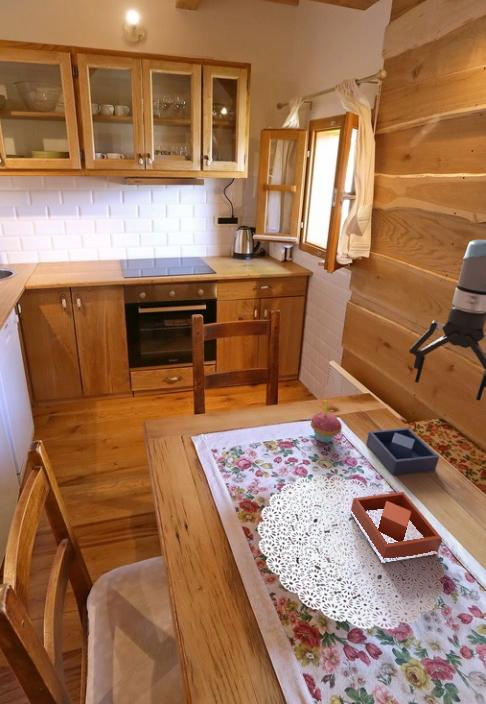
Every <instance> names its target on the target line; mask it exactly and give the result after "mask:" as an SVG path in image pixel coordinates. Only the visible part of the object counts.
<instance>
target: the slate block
mask: <svg viewBox="0 0 486 704" xmlns="http://www.w3.org/2000/svg"><path fill="white" fill-rule="evenodd" d="M414 441H415V439H412V438H409V437H406V436H403V435H401V434H398V433H395V435H394V437H393V440H392V442H391V446H390V450H389V451H390V453H391V454H392V455H393V456H394V457H395V458H396V459H406V458H410V456H411V452H412V448H413V445H414Z"/></svg>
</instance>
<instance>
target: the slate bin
mask: <svg viewBox="0 0 486 704" xmlns="http://www.w3.org/2000/svg"><path fill="white" fill-rule="evenodd" d="M395 433H398V434H401V435H403V436H406V437H409V438H412V439H415V441H414V445H413V448H412V452H411V456H410V458H406V459H396V458H395V457H394V456H393V455H392V454H391V453H390V451H389V450H390V446H391V442H392V440H393V437H394V435H395ZM365 445H366V446H367V448H368V449H369V450H370V452H372V454H373V455H374V456H375V457H376V458H377V460H378V461H379V462H380V463H381V464H382V466H383V467H384V468H385V470H387V472H388V473H389V474H390V475H391V476H392V477H395V476H403V475H404V476H405V475H412V474H413V475H414V474H420V473H430V472H435V471H436V469H437V467H438V462H439V460H440V456H439V455H438V454H437V453H435V452H434V451H433V450H432V448H430V447H429V446H428V445H427V444H426V443H425V442H424V441H423V440H422V439H421V438H420V437H418V435H417V434H416V433H414V432H413V430H411V428H409V427H403V428H402V427H401V428H393V429H382V430H381V429H380V430H372V431H368V434H367V438H366V443H365Z"/></svg>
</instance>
